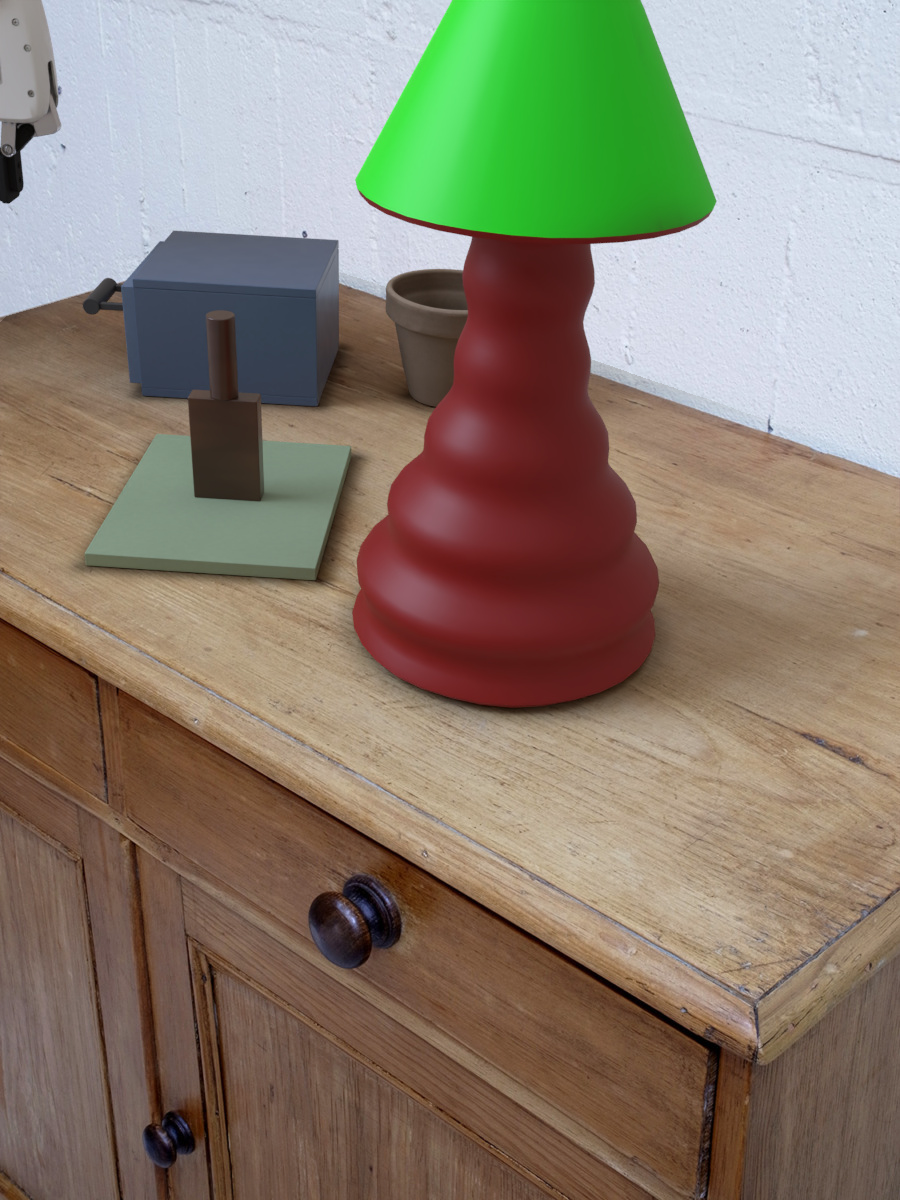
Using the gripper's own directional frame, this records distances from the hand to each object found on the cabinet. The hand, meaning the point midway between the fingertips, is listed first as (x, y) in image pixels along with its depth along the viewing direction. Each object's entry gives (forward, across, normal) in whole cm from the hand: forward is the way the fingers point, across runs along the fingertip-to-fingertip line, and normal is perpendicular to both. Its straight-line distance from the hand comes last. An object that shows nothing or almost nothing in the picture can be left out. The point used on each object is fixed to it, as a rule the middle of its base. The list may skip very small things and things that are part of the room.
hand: (5, 198), depth 115 cm
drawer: (+13, +17, 0) cm, 21 cm away
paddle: (+13, +25, -27) cm, 39 cm away
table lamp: (+14, +46, -41) cm, 63 cm away
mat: (+14, +25, -27) cm, 39 cm away
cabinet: (+14, +21, 0) cm, 25 cm away
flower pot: (+14, +40, -3) cm, 42 cm away
